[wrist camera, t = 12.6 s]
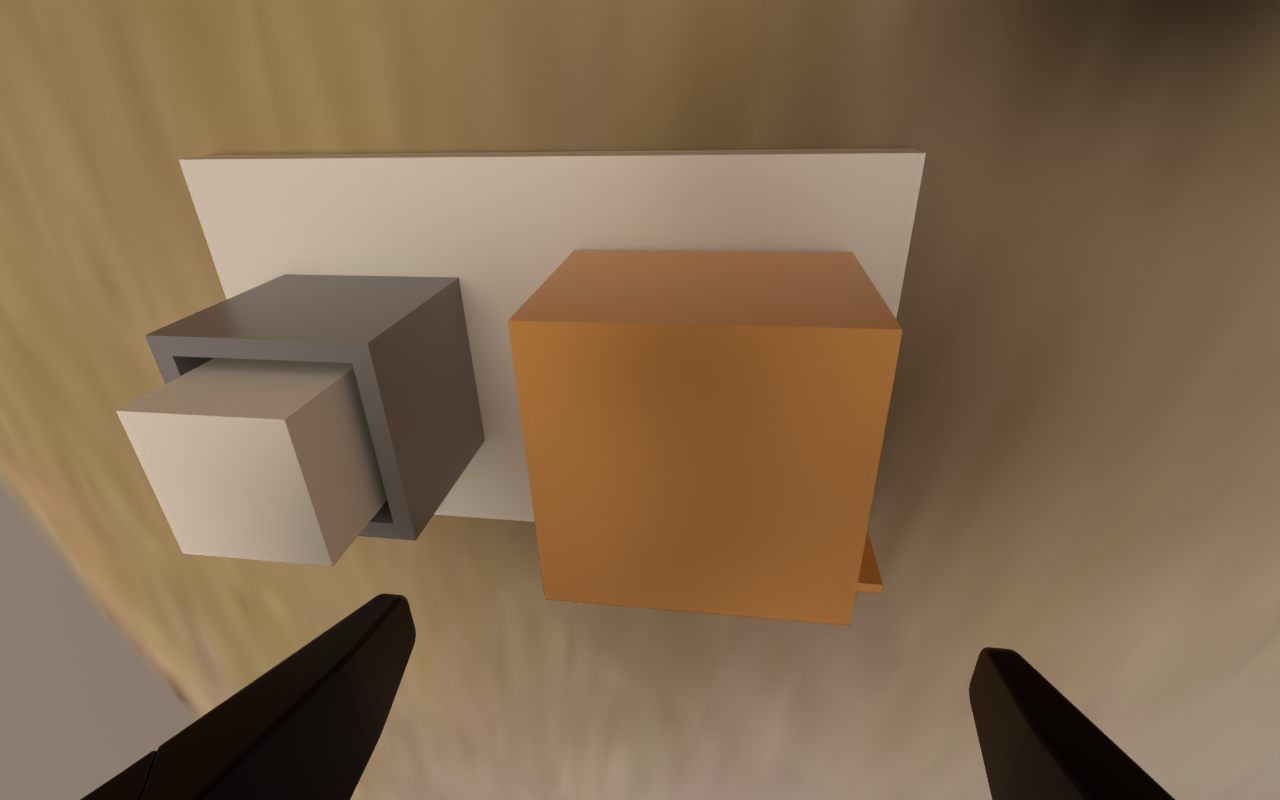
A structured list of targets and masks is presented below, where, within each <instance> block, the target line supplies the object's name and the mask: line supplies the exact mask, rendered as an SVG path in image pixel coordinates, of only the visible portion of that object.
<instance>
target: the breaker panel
mask: <svg viewBox="0 0 1280 800" xmlns="http://www.w3.org/2000/svg"><path fill="white" fill-rule="evenodd" d="M925 156H926V153H925V152H922V151H920V150H917V149H915V148H857V149H756V150H655V151H553V152H452V153H351V154H249V155H206V156H200V157H193V158H186V159H180V160H179V162H180V165H181V168H182V171H183V174H184V177H185V180H186V182H187V185H188V188H189V191H190V194H191V197H192V200H193V203H194V206H195V209H196V212H197V214H198V217H199V220H200V223H201V226H202V229H203V232H204V235H205V238H206V241H207V244H208V246H209V249H210V252H211V255H212V258H213V261H214V264H215V267H216V270H217V273H218V276H219V278H220V281H221V284H222V287H223V290H224V293H225V296H226V299H227V300H225V301H223V302H220V303H218V304H216V305H213V306H211V307H209V308H207V309H204V310H202V311H200V312H197V313H195V314H193V315H191V316H188V317H186V318H184V319H181V320H179V321H177V322H175V323H172V324H170V325H168V326H165V327H163V328H161V329H159V330H156V331H154V332H152V333H149V334H147V335H145V336H146V339H147V341H148V343H149V346H150V348H151V351H152V353H153V355H154V358H155V360H156V363H157V365H158V367H159V370H160V372H161V374H162V377H163V379H164V382H165V384H167V383H169V382H171V381H173V380H174V379H176V378H178V377H180V376H182V375H184V374H186V373H187V372H189V371H191V370H193V369H195V368H197V367H199V366H200V365H202V364H204V363H206V362H208V361H210V360H212V359H213V358H233V359H259V360H285V361H310V362H336V363H352V365H353V369H354V373H355V377H356V380H357V384H358V388H359V392H360V396H361V400H362V404H363V407H364V411H365V415H366V419H367V423H368V427H369V431H370V434H371V438H372V442H373V446H374V450H375V454H376V458H377V461H378V465H379V469H380V473H381V477H382V481H383V485H384V488H385V492H386V496H387V501H386V503H385V504H384V505H383V506H382V507H381V509H380V510H379V511H378V512H377V513H376V515H375V516H374V517H373V518H372V520H371V521H370V522H369V523H368V524H367V526H366V527H365V528H364V529H363V530H362V532H361V533H360V534H359V535H358V536H367V537H380V538H392V539H405V540H416V539H417V538H418V536H419V535H420V533H421V532H422V531H423V529H424V528H425V526H426V525H427V523H428V522H429V520H430V519H431V518H432V516H433V515H447V516H461V517H474V518H488V519H502V520H515V521H529V522H535V520H534V513H533V505H532V498H531V490H530V483H529V475H528V468H527V460H526V453H525V445H524V438H523V430H522V423H521V416H520V408H519V401H518V393H517V386H516V378H515V371H514V363H513V356H512V348H511V341H510V334H509V326H508V320H509V319H510V318H511V317H512V316H513V315H514V313H515V312H516V311H517V310H518V309H519V308H520V307H521V306H522V305H523V304H524V303H525V302H526V301H527V300H528V299H529V298H530V296H531V295H532V294H533V293H534V292H535V291H536V290H537V289H538V288H539V287H540V286H541V285H542V284H543V283H544V282H545V281H546V279H547V278H548V277H549V276H550V275H551V274H552V273H553V272H554V271H555V270H556V269H557V268H558V267H559V266H560V265H561V264H562V262H563V261H564V260H565V259H566V258H567V257H568V256H569V255H570V254H571V253H572V252H573V251H574V250H593V251H756V252H853V254H854V255H855V257H856V258H857V260H858V261H859V263H860V264H861V266H862V267H863V269H864V270H865V272H866V274H867V275H868V277H869V278H870V280H871V281H872V283H873V284H874V286H875V287H876V289H877V290H878V292H879V294H880V295H881V297H882V298H883V300H884V301H885V303H886V304H887V306H888V307H889V309H890V311H891V312H892V314H893V315H894V317H895V318H896V319H897V313H898V308H899V302H900V296H901V291H902V285H903V280H904V274H905V268H906V263H907V257H908V251H909V246H910V240H911V235H912V229H913V223H914V218H915V212H916V206H917V201H918V195H919V190H920V184H921V178H922V173H923V167H924V161H925ZM882 587H883V584H882V580H881V577H880V573H879V570H878V566H877V563H876V559H875V556H874V552H873V549H872V545H871V542H870V538H869V535H868V531H867V534H866V540H865V545H864V551H863V556H862V562H861V568H860V573H859V579H858V585H857V590H856V591H861V592H873V593H881V591H882Z"/></svg>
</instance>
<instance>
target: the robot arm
mask: <svg viewBox="0 0 1280 800" xmlns="http://www.w3.org/2000/svg"><path fill="white" fill-rule="evenodd" d="M415 637H416V631H415V626H414V622H413V619H412V615H411V611H410V607H409V603H408V600H407V599H406V598H405V597H404V596H402V595H394V594H380V595H378V596H376V597H375V598H373V599H372V600H370V601H369V602H367V603H366V604H364V605H363V606H362V607H360V608H359V609H357V610H356V611H354V612H353V613H351V614H350V615H349V616H347V617H346V618H344V619H343V620H341V621H340V622H338V623H337V624H336V625H334V626H333V627H331V628H330V629H328V630H327V631H325V632H324V633H323V634H321V635H320V636H318V637H317V638H315V639H314V640H312V641H311V642H310V643H308V644H307V645H305V646H304V647H302V648H301V649H299V650H298V651H296V652H295V653H294V654H292V655H291V656H289V657H288V658H286V659H285V660H283V661H282V662H281V663H279V664H278V665H276V666H275V667H273V668H272V669H270V670H269V671H268V672H266V673H265V674H263V675H262V676H260V677H259V678H257V679H256V680H255V681H253V682H252V683H250V684H249V685H247V686H246V687H244V688H243V689H242V690H240V691H239V692H237V693H236V694H234V695H233V696H231V697H230V698H229V699H227V700H226V701H224V702H223V703H221V704H220V705H218V706H217V707H216V708H214V709H213V710H211V711H210V712H208V713H207V714H205V715H204V716H202V717H201V718H200V719H198V720H197V721H195V722H194V723H192V724H191V725H189V726H188V727H187V728H185V729H184V730H182V731H181V732H180V733H178V734H177V735H175V736H174V737H172V738H171V739H169V740H168V741H167V742H165V743H163V744H162V745H161V746H160V747H159V748H158V750H157V751H152V752H150V753H149V754H147V755H146V756H144V757H143V758H141V759H140V760H139V761H137V762H136V763H134V764H133V765H131V766H130V767H129V768H127V769H126V770H124V771H123V772H121V773H120V774H118V775H117V776H115V777H114V778H112V779H111V780H109V781H108V782H106V783H105V784H103V785H102V786H100V787H99V788H97V789H96V790H94V791H93V792H91V793H90V794H88V795H87V796H85V797H84V798H82V799H81V800H350V799H351V796H352V794H353V792H354V790H355V788H356V786H357V784H358V782H359V780H360V778H361V776H362V774H363V772H364V770H365V767H366V765H367V763H368V761H369V759H370V757H371V755H372V753H373V751H374V749H375V746H376V744H377V742H378V740H379V738H380V735H381V733H382V730H383V728H384V725H385V723H386V720H387V718H388V715H389V712H390V709H391V707H392V704H393V701H394V698H395V696H396V693H397V690H398V687H399V685H400V682H401V679H402V677H403V674H404V671H405V668H406V666H407V663H408V660H409V657H410V655H411V652H412V649H413V646H414V643H415ZM969 696H970V703H971V707H972V712H973V716H974V721H975V725H976V729H977V734H978V738H979V743H980V747H981V752H982V756H983V761H984V765H985V769H986V774H987V778H988V783H989V787H990V792H991V796H992V800H1175V799H1174V798H1173V797H1172V796H1171V795H1170V794H1168V793H1167V792H1166V791H1165V790H1164V789H1163V788H1162V787H1161V786H1160V785H1159V784H1158V783H1157V782H1156V781H1155V780H1153V779H1152V778H1151V777H1150V776H1149V775H1148V774H1147V773H1146V772H1145V771H1144V770H1143V769H1142V768H1141V767H1140V766H1138V765H1137V764H1136V763H1135V762H1134V761H1133V760H1132V759H1131V758H1130V757H1129V756H1128V755H1127V754H1126V753H1125V752H1123V751H1122V750H1121V749H1120V748H1119V747H1118V746H1117V745H1116V744H1115V743H1114V742H1113V741H1112V740H1111V739H1110V738H1108V737H1107V736H1106V735H1105V734H1104V733H1103V732H1102V731H1101V730H1100V729H1099V728H1098V727H1097V726H1096V725H1095V724H1093V723H1092V722H1091V721H1090V720H1089V719H1088V718H1087V717H1086V716H1085V715H1084V714H1083V713H1082V712H1081V711H1080V710H1078V709H1077V708H1076V707H1075V706H1074V705H1073V704H1072V703H1071V702H1070V701H1069V700H1068V699H1067V698H1066V697H1064V696H1063V695H1062V694H1061V693H1060V692H1059V691H1058V690H1057V689H1056V688H1055V687H1054V686H1053V685H1052V684H1051V683H1049V682H1048V681H1047V680H1046V679H1045V678H1044V677H1043V676H1042V675H1041V674H1040V673H1039V672H1038V671H1037V670H1036V669H1034V668H1033V667H1032V666H1031V665H1030V664H1029V663H1028V662H1027V661H1026V660H1025V659H1024V658H1023V657H1022V656H1021V655H1019V654H1018V653H1017V652H1015V651H1013V650H1010V649H1002V648H991V647H987V648H984V649H983V650H982V651H981V652H980V654H979V657H978V660H977V663H976V666H975V670H974V673H973V676H972V679H971V682H970V687H969Z"/></svg>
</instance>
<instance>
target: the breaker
mask: <svg viewBox="0 0 1280 800" xmlns="http://www.w3.org/2000/svg"><path fill="white" fill-rule="evenodd" d="M116 412H117V414H118V416H119V418H120V420H121V422H122V424H123V427H124V429H125V431H126V433H127V435H128V437H129V439H130V441H131V444H132V446H133V448H134V450H135V452H136V454H137V456H138V459H139V461H140V463H141V465H142V467H143V469H144V471H145V473H146V476H147V478H148V480H149V482H150V484H151V486H152V488H153V490H154V493H155V495H156V497H157V499H158V501H159V503H160V505H161V507H162V510H163V512H164V514H165V516H166V518H167V520H168V522H169V524H170V527H171V529H172V531H173V533H174V535H175V537H176V539H177V541H178V544H179V546H180V548H181V550H182V552H183V553H185V554H196V555H208V556H219V557H231V558H242V559H254V560H265V561H277V562H288V563H300V564H311V565H323V566H334V564H335V563H336V562H337V561H338V559H339V558H340V557H341V556H342V555H343V553H344V552H345V551H346V550H347V549H348V547H349V546H350V545H351V544H352V543H353V541H354V540H355V539H356V538H357V536H358V535H359V534H360V533H361V532H362V530H363V529H364V528H365V527H366V526H367V524H368V523H369V522H370V521H371V520H372V518H373V517H374V516H375V515H376V513H377V512H378V511H379V510H380V509H381V507H382V506H383V505H384V504H385V503H386V501H387V496H386V492H385V488H384V485H383V481H382V477H381V473H380V469H379V465H378V461H377V458H376V454H375V450H374V446H373V442H372V438H371V434H370V431H369V427H368V423H367V419H366V415H365V411H364V407H363V404H362V400H361V396H360V392H359V388H358V384H357V380H356V377H355V373H354V369H353V365H352V363H336V362H310V361H285V360H259V359H233V358H213V359H212V360H210V361H208V362H206V363H204V364H202V365H200V366H199V367H197V368H195V369H193V370H191V371H189V372H187V373H186V374H184V375H182V376H180V377H178V378H176V379H174V380H173V381H171V382H169V383H167V384H165V385H163V386H161V387H160V388H158V389H156V390H154V391H152V392H150V393H148V394H147V395H145V396H143V397H141V398H139V399H137V400H135V401H134V402H132V403H130V404H128V405H126V406H124V407H122V408H121V409H119V410H117V411H116Z"/></svg>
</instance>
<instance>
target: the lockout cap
mask: <svg viewBox="0 0 1280 800" xmlns="http://www.w3.org/2000/svg"><path fill="white" fill-rule="evenodd" d="M508 326H509V334H510V341H511V348H512V356H513V363H514V371H515V378H516V386H517V393H518V401H519V408H520V416H521V423H522V430H523V438H524V445H525V453H526V460H527V468H528V475H529V483H530V490H531V498H532V505H533V513H534V520H535V527H536V535H537V542H538V550H539V557H540V565H541V572H542V580H543V587H544V595H545V599H548V600H559V601H571V602H583V603H594V604H606V605H618V606H629V607H641V608H653V609H664V610H676V611H688V612H699V613H711V614H723V615H734V616H746V617H758V618H769V619H781V620H793V621H804V622H816V623H828V624H840V625H850V624H851V618H852V613H853V607H854V601H855V596H856V590H857V585H858V579H859V573H860V568H861V562H862V556H863V551H864V545H865V540H866V534H867V528H868V523H869V517H870V511H871V506H872V500H873V495H874V489H875V483H876V478H877V472H878V466H879V461H880V455H881V449H882V444H883V438H884V433H885V427H886V421H887V416H888V410H889V404H890V399H891V393H892V388H893V382H894V376H895V371H896V365H897V359H898V354H899V348H900V343H901V337H902V331H903V329H902V327H901V326H900V324H899V323H898V321H897V320H896V318H895V317H894V315H893V314H892V312H891V311H890V309H889V307H888V306H887V304H886V303H885V301H884V300H883V298H882V297H881V295H880V294H879V292H878V290H877V289H876V287H875V286H874V284H873V283H872V281H871V280H870V278H869V277H868V275H867V274H866V272H865V270H864V269H863V267H862V266H861V264H860V263H859V261H858V260H857V258H856V257H855V255H854V254H853V252H756V251H593V250H574V251H573V252H572V253H571V254H570V255H569V256H568V257H567V258H566V259H565V260H564V261H563V262H562V264H561V265H560V266H559V267H558V268H557V269H556V270H555V271H554V272H553V273H552V274H551V275H550V276H549V277H548V278H547V279H546V281H545V282H544V283H543V284H542V285H541V286H540V287H539V288H538V289H537V290H536V291H535V292H534V293H533V294H532V295H531V296H530V298H529V299H528V300H527V301H526V302H525V303H524V304H523V305H522V306H521V307H520V308H519V309H518V310H517V311H516V312H515V313H514V315H513V316H512V317H511V318H510V319H509V320H508Z"/></svg>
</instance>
